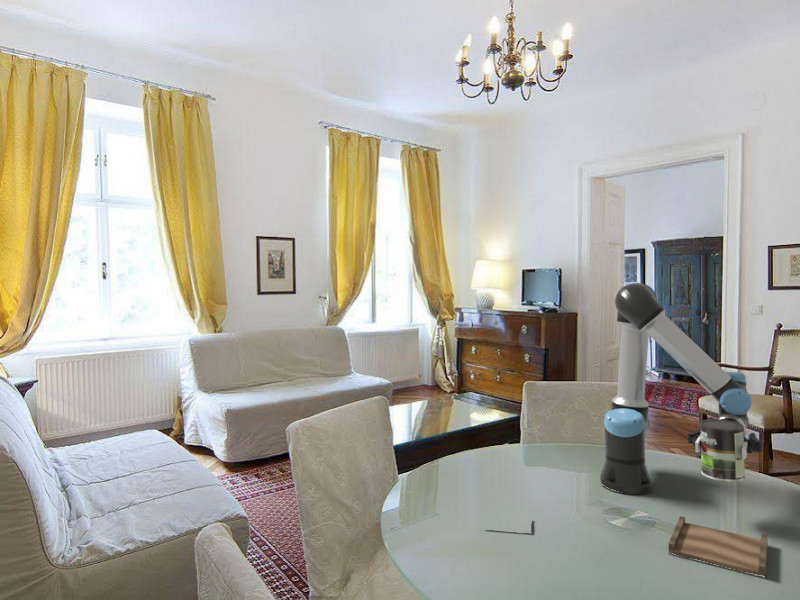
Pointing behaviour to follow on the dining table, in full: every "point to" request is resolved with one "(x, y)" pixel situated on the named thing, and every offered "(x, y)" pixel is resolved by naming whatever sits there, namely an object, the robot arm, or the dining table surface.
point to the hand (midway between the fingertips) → (719, 450)
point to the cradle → (720, 547)
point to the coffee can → (722, 450)
